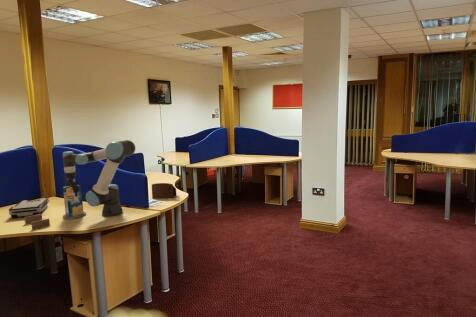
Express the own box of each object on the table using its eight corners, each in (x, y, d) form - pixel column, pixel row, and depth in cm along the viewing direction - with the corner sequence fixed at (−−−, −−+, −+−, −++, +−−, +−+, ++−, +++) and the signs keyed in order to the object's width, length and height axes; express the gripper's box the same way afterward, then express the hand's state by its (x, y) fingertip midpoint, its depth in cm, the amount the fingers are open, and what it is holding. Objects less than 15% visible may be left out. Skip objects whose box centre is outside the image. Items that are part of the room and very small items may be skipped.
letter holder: (173, 198, 314) (172, 183, 312) (152, 198, 316) (151, 183, 314) (176, 195, 324) (175, 180, 322) (155, 196, 326) (154, 181, 324)
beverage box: (65, 215, 268) (62, 187, 265) (80, 211, 276) (77, 184, 273) (68, 216, 264) (65, 188, 261) (83, 213, 271) (81, 185, 268)
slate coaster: (89, 215, 270) (89, 213, 270) (67, 220, 259) (67, 219, 259) (81, 211, 281) (80, 210, 281) (59, 216, 270) (59, 214, 270)
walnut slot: (50, 225, 249) (49, 218, 248) (32, 229, 241) (31, 222, 240) (41, 220, 262) (41, 213, 261) (25, 224, 254) (24, 217, 253)
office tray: (49, 206, 303) (48, 196, 302) (40, 216, 273) (39, 206, 272) (22, 208, 297) (20, 199, 296) (10, 219, 267) (8, 209, 266)
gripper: (59, 171, 271) (62, 197, 274) (70, 174, 254) (74, 202, 257) (69, 169, 277) (72, 195, 280) (81, 172, 259) (84, 200, 262)
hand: (73, 199), depth 268 cm, fingers open, 13 cm apart
